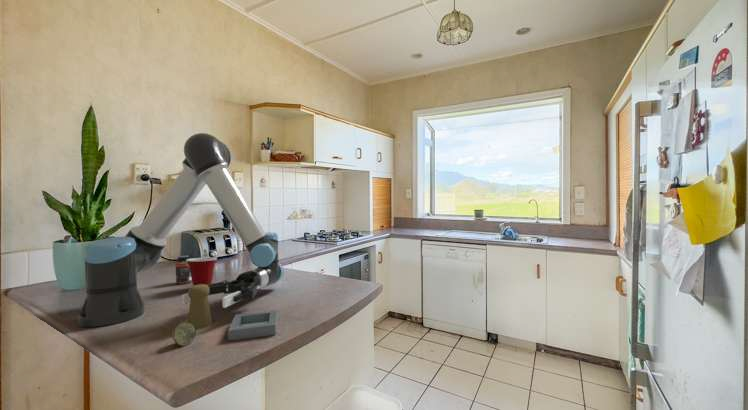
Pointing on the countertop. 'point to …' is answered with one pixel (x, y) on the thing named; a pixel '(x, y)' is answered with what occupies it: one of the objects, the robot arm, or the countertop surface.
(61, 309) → the countertop surface
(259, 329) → the block
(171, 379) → the countertop surface
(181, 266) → the supplement bottle
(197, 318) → the cork
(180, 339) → the grey-green short cylinder
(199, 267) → the plastic cup
